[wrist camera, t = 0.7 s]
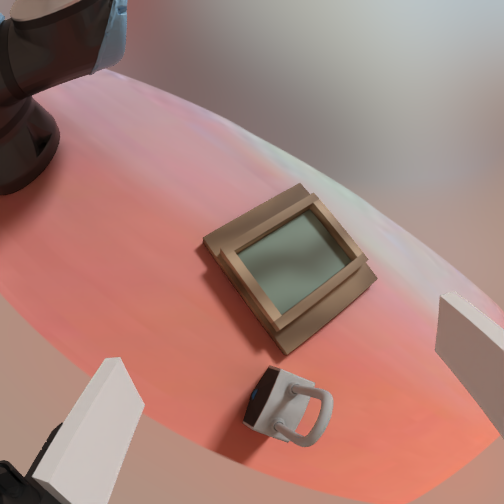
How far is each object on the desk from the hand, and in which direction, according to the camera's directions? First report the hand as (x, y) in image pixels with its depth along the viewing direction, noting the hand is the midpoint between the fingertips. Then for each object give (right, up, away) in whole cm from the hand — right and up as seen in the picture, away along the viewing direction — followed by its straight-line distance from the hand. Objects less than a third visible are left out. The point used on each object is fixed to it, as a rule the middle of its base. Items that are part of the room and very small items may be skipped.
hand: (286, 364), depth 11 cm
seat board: (+3, +3, +23) cm, 24 cm away
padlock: (+1, -11, +17) cm, 20 cm away
